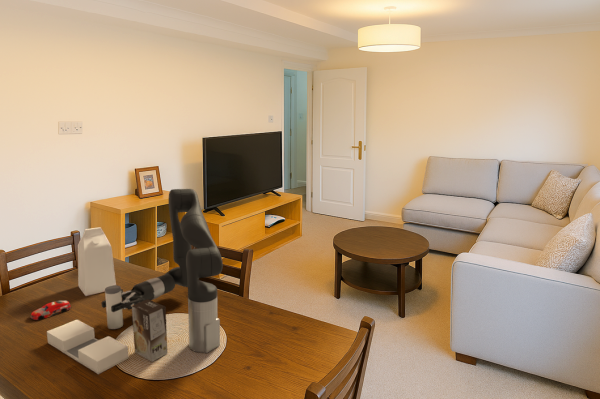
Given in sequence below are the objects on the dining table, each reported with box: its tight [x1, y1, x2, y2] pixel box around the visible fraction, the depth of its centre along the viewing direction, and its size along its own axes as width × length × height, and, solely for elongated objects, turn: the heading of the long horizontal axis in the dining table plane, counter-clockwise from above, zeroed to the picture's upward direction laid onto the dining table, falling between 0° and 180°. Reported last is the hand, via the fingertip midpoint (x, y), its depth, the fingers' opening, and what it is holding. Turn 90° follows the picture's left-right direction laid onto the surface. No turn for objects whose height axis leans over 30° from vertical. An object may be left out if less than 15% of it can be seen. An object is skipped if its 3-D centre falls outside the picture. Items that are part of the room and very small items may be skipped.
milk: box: [77, 226, 117, 297], centre depth 178 cm, size 12×12×26 cm
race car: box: [30, 300, 72, 321], centre depth 158 cm, size 13×5×4 cm, turn 139°
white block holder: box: [46, 319, 129, 375], centre depth 135 cm, size 28×10×4 cm, turn 57°
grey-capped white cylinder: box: [104, 284, 124, 330], centre depth 148 cm, size 5×5×14 cm
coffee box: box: [131, 299, 168, 362], centre depth 134 cm, size 9×6×16 cm
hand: (107, 307), depth 146 cm, fingers closed on grey-capped white cylinder, 5 cm apart
